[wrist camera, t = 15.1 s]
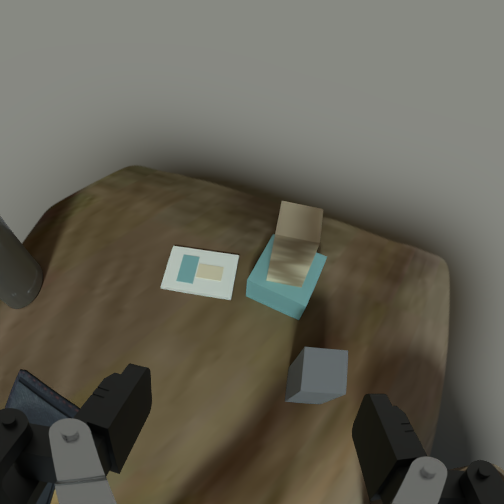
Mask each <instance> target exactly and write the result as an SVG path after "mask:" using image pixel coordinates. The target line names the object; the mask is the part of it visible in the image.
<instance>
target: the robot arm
mask: <svg viewBox="0 0 504 504" xmlns="http://www.w3.org/2000/svg"><path fill="white" fill-rule="evenodd" d="M42 280H43V273H42V269H41V267H40V265H39V264H38V263H37V262H36V261H35V259H34V258H33V257H32V256H31V255H30V253H29V252H28V251H27V250H26V248H25V247H24V246H23V245H22V243H21V242H20V241H19V240H18V239H17V237H16V236H15V235H14V234H13V232H12V231H11V230H10V228H9V227H8V226H7V224H6V223H5V222H4V220H3V219H2V218H1V216H0V299H1V300H2V301H3V302H5V303H6V304H7V305H8V306H10V307H12V308H15V309H19V308H23V307H25V306H27V305H28V304H30V303H31V302H32V301H33V300H34V299H35V297H36V296H37V294H38V292H39V290H40V288H41V285H42ZM151 405H152V393H151V375H150V369H149V368H147V367H142V366H138V365H134V364H129V365H128V366H127V367H126V368H125V370H124V371H123V372H122V374H118V373H114V374H112V375H110V376H108V377H106V378H104V380H103V381H102V382H101V383H100V385H99V386H98V388H96V390H95V391H94V392H93V394H92V395H91V396H90V397H89V398H88V400H87V401H86V402H85V403H84V405H83V406H82V407H81V409H80V410H79V411H78V412H77V414H76V415H75V416H74V417H73V418H66V419H61V420H58V421H56V422H55V423H54V424H53V425H52V426H43V425H37V424H32V423H29V421H28V419H27V416H26V415H25V414H24V413H23V412H22V411H20V410H18V409H15V408H5V409H2V410H0V504H36V503H37V501H38V499H39V497H40V495H41V494H42V492H43V490H44V488H45V487H46V485H47V483H53V484H55V490H56V494H57V498H58V502H59V504H117V503H116V501H115V499H114V496H113V494H112V491H111V489H110V486H109V484H108V481H107V479H106V476H107V474H108V472H109V470H110V471H112V472H115V473H118V474H120V472H121V470H122V468H123V465H124V463H125V461H126V459H127V457H128V455H129V453H130V451H131V449H132V447H133V445H134V443H135V441H136V439H137V437H138V435H139V433H140V431H141V429H142V427H143V425H144V423H145V421H146V419H147V417H148V415H149V413H150V410H151ZM352 438H353V441H354V445H355V448H356V452H357V455H358V459H359V462H360V466H361V470H362V473H363V477H364V481H365V484H366V488H367V492H368V495H369V499H370V501H373V500H382V504H504V482H503V480H502V478H501V476H500V474H499V473H498V471H497V469H496V468H495V467H494V466H493V465H492V464H491V463H489V462H487V461H483V460H478V461H474V462H472V463H471V464H470V465H469V466H468V467H467V469H466V470H465V471H459V470H447V469H446V467H445V465H444V464H443V463H442V462H441V461H439V460H438V459H435V458H432V457H427V455H426V453H425V451H424V449H423V447H422V445H421V443H420V441H419V439H418V437H417V435H416V433H415V432H414V430H413V428H412V426H411V425H410V422H409V420H408V418H407V416H406V414H405V413H404V412H403V411H402V410H400V409H399V408H398V407H397V406H392V405H391V403H390V401H389V399H388V397H387V395H386V394H366V395H365V396H364V398H363V401H362V403H361V406H360V408H359V411H358V413H357V416H356V418H355V421H354V423H353V428H352Z"/></svg>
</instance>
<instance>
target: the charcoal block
mask: <svg viewBox="0 0 504 504" xmlns="http://www.w3.org/2000/svg"><path fill="white" fill-rule="evenodd" d="M347 365H348V351H345V350H334V349H323V348H313V347H304V348H303V350H302V351H301V352H300V354H299V355H298V356H297V358H296V359H295V360H294V361H293V363H292V364H291V365H290V367H289V370H288V379H287V387H286V396H285V401H287V402H297V403H310V404H322V403H325V402H327V401H330V400H332V399H335V398H337V397H340V396H342V395H345V394H346V384H347Z"/></svg>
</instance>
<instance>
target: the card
mask: <svg viewBox="0 0 504 504" xmlns="http://www.w3.org/2000/svg"><path fill="white" fill-rule="evenodd" d="M238 260H239V255H233V254H226V253H220V252H213V251H206V250H199V249H192V248H185V247H178V246H173V249H172V252H171V255H170V258H169V261H168V264H167V268H166V271H165V274H164V277H163V281H162V284H161V288H162V289H167V290H173V291H178V292H184V293H190V294H196V295H202V296H208V297H214V298H220V299H227V300H231V297H232V292H233V286H234V281H235V276H236V270H237V265H238Z"/></svg>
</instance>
